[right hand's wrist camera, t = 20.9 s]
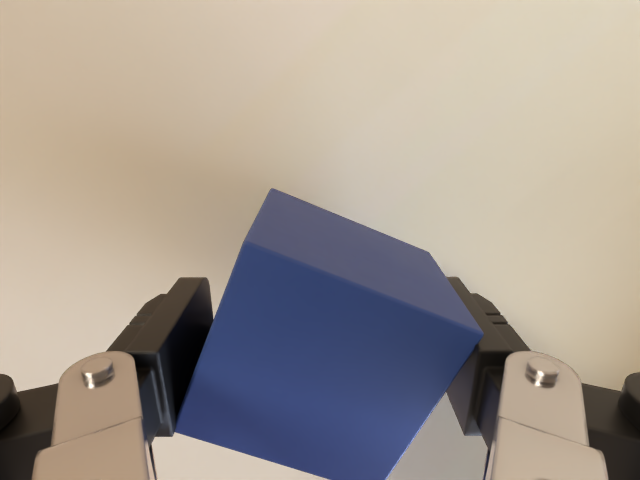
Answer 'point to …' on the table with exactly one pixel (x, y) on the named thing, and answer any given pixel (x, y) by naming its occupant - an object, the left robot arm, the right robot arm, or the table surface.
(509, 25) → the table surface
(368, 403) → the blue block
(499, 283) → the table surface
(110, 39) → the table surface
